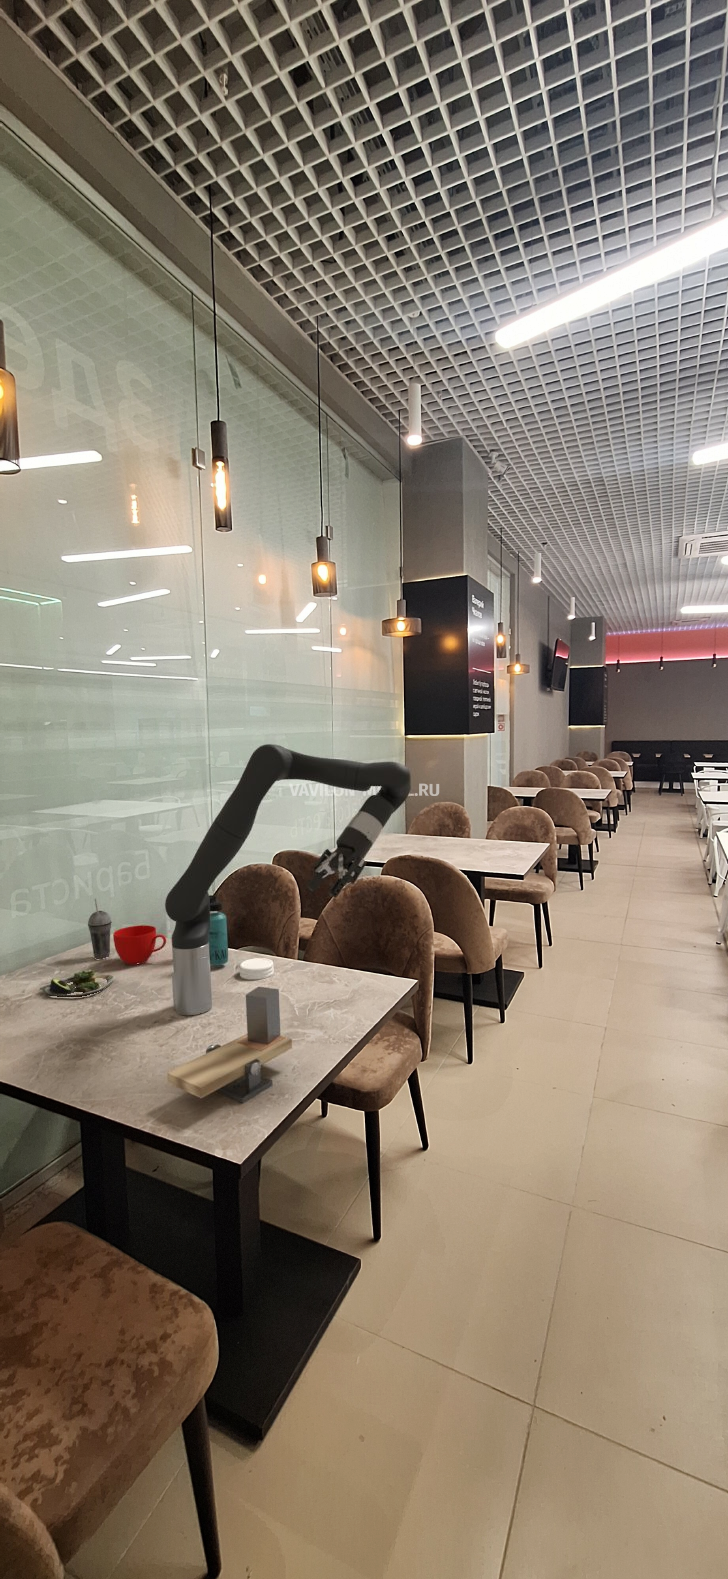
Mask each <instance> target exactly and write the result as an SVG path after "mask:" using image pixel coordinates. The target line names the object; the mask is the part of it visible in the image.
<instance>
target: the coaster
mask: <svg viewBox="0 0 728 1579" xmlns="http://www.w3.org/2000/svg"><path fill="white" fill-rule="evenodd" d="M274 968H275V967H274V961H273V960H271V959H269V958H264V957H257V958H250V959H246V960H244V961H242V962H240V963H239V975H240V977H241V978H242V979H243V980H248V981H249V980H250V981H254V980H256V981H257V980H264V979H266V978H270V977H271V976H272V975H273V974H274V972H275V970H274Z"/></svg>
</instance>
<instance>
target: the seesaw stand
mask: <svg viewBox="0 0 728 1579" xmlns="http://www.w3.org/2000/svg"><path fill="white" fill-rule="evenodd" d="M221 1046H222V1045H220V1044H216V1045H213V1044H210V1045H208V1046H207V1048H206V1049H205V1054H206V1053H208V1052H211V1051H213V1050H215V1049H217V1048H219V1047H221ZM261 1069H262V1065H260V1060H257V1059H255V1060H254V1061H252V1062H250V1063H248V1064H246V1065H245V1075H243V1076H241V1077H239V1078H237V1079H235V1080H234V1081H232V1082H230V1083H228V1084H226V1085H225V1086H223V1087H221V1088H219V1089H217V1090H216V1091H215V1092H216V1093H218V1094H221V1095H223V1096H225V1097H228V1098H230V1099H232V1100H235V1101H237V1102H239V1103H241V1104H244V1103H245V1102H247V1101H249V1100H250V1099H251V1100H252V1098H254V1097H255V1096H258V1095H259V1094H260V1093H262V1092H264V1091H266V1090H267V1089H269V1088H271V1087H272V1086H273V1079H270V1078H267V1077H266V1076H265V1077H264V1076H263V1075H261Z"/></svg>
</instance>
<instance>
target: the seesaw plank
mask: <svg viewBox="0 0 728 1579" xmlns="http://www.w3.org/2000/svg"><path fill="white" fill-rule="evenodd" d="M292 1049H293V1039H292V1038H289V1037H288V1036H287V1037H286V1036H284V1035H280V1036H279V1037H277V1038H276V1039H275V1040H274V1041H272V1042H271V1043H270V1044H269V1045H266V1044H260V1043H255V1042H249V1041H248V1036H247V1033H246V1034H243V1035H242V1036H239V1037H237V1038H235V1039H234V1040H231V1041H229V1042H227V1043H226V1044H223V1045H221V1047H219V1048H217V1049H215V1050H213V1051H211V1052H208V1053H206V1052H205V1053H204V1054H203V1055H201V1056H198V1057H196V1058H194V1059H192V1060H189V1061H188V1062H186V1063H184V1064H182V1065H180V1066H177V1067H176V1068H174V1069H172V1070H170V1071H168V1072H167V1073H166V1074H167V1075H166V1077H167V1083H168V1084H170V1085H171V1086H175V1087H176V1088H178V1089H180V1090H182V1091H185V1092H186V1093H189V1094H191V1095H193V1096H196V1097H198V1098H200V1099H203V1098H204V1097H206V1096H208V1095H210V1094H212V1093H213V1092H216V1090H217V1089H219V1088H221V1087H223V1086H225V1085H226V1084H228V1083H230V1082H232V1081H234V1080H235V1079H237V1078H239V1077H241V1076H243V1075H245V1065H246V1064H248V1063H250V1062H252V1061H254V1060H255V1059H257V1060H260V1065H261V1066H263V1065H264V1064H266V1063H268V1062H270V1061H272V1060H274V1059H276V1058H277V1057H279V1056H281V1055H282V1054H284V1053H286V1052H288V1051H290V1050H292Z"/></svg>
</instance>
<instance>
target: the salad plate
mask: <svg viewBox="0 0 728 1579" xmlns="http://www.w3.org/2000/svg"><path fill="white" fill-rule="evenodd" d="M100 972H101V970H100V969H94V970H91V969H88V970H87V971H86V970H82V971H79V972H74V974H72V975H67V976H66V977H64V978H62V979H58V978H52V979H51V980H50V984H47V985H43V986H42V987H39V991H43V993H44V994H45V995H46V996H47V995H49V996H57V997H82V996H87V995H90V994H94V993H97V992H99V991H101V992H103V991H104V990H105V989H106V988H108V987H109V986H110V985H111V984H112V983H113V982H114V981H115V976H114V975H113V974H98V973H100ZM96 978H103V979H106V980H107V984H106V985H105V986H104V985H103V986H104V987H103V986H102V985H101V982H95V979H96ZM70 982H73V984H71V985H68V984H67V983H70ZM108 985H109V986H108ZM107 986H108V987H107ZM75 987H76V988H75ZM105 987H106V988H105ZM104 988H105V989H104ZM103 989H104V990H103ZM74 992H83V993H82V994H76V995H67V994H71V993H74Z"/></svg>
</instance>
